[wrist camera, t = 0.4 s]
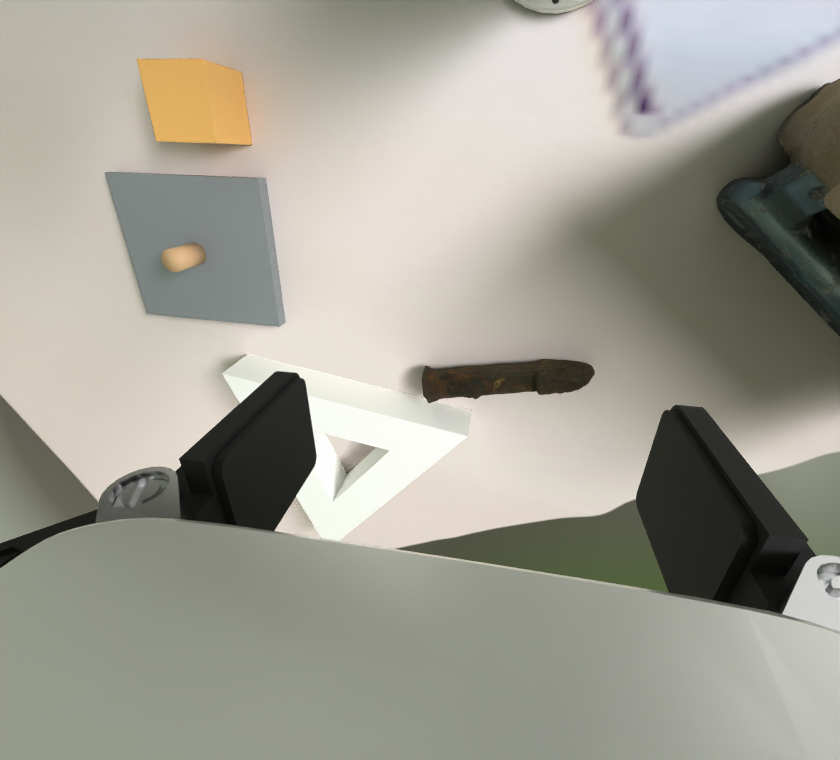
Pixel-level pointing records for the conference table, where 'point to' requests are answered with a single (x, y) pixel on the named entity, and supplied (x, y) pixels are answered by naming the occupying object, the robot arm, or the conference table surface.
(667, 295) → the conference table surface
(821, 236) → the tablet
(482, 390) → the brown piece
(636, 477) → the conference table surface
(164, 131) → the orange cube
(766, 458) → the conference table surface
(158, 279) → the peg board
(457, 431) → the triangle block
